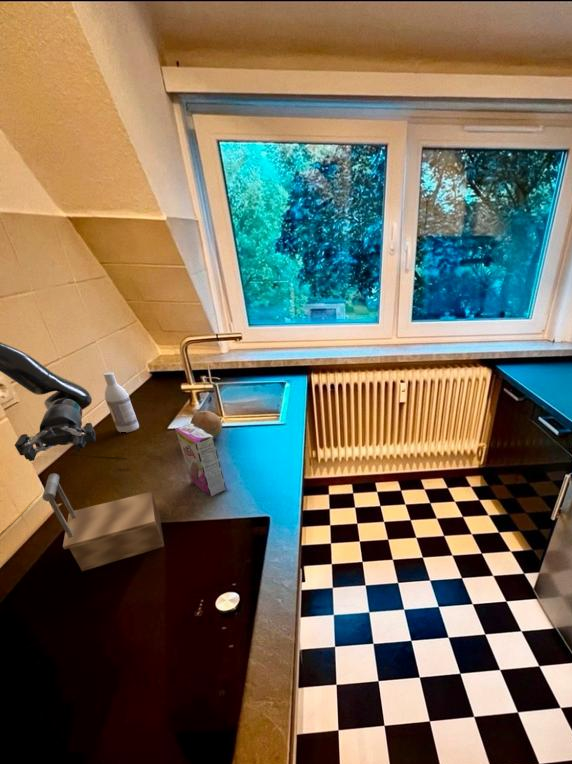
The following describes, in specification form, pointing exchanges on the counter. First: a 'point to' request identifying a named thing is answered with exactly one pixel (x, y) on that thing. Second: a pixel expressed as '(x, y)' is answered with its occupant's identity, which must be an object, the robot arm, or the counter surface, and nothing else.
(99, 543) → the oak box
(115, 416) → the bath foam
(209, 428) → the brown round ball
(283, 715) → the counter surface
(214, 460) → the candy bar box
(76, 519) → the box lid
